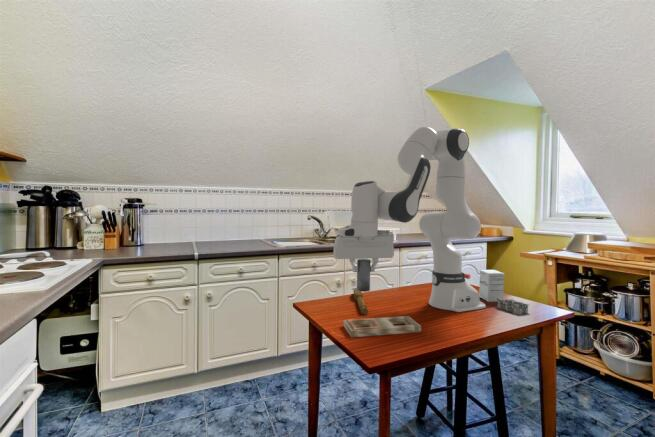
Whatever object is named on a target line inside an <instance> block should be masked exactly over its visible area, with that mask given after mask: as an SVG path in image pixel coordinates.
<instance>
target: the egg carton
mask: <svg viewBox="0 0 655 437" xmlns="http://www.w3.org/2000/svg"><path fill="white" fill-rule="evenodd" d="M497 300H499V299H498V298H497ZM529 306H530V303H529V304H528V303H525V302H522V301H518V300H517V301H516V300H515V299H513V298H510V299H509V298H508V299H503V300H502V301H501V300H499V301H498V302H497V308H498V309H500V310H505V311H506V312H510V313H511V312H512V313H513V314H514V315H523V314H528V313H529Z"/></svg>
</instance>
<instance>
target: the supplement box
mask: <svg viewBox="0 0 655 437" xmlns="http://www.w3.org/2000/svg"><path fill="white" fill-rule="evenodd" d="M504 288H505V272H501V271H499V270H496V269H480V270H479V290H478V293H479V298H481V299H482V300H484V301H485V302H488V303H489V302H491V303H492V302H493V303H498V301H499V300H501V301H502V300H504V292H505V290H504ZM497 298H498V299H499V300H497Z"/></svg>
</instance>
